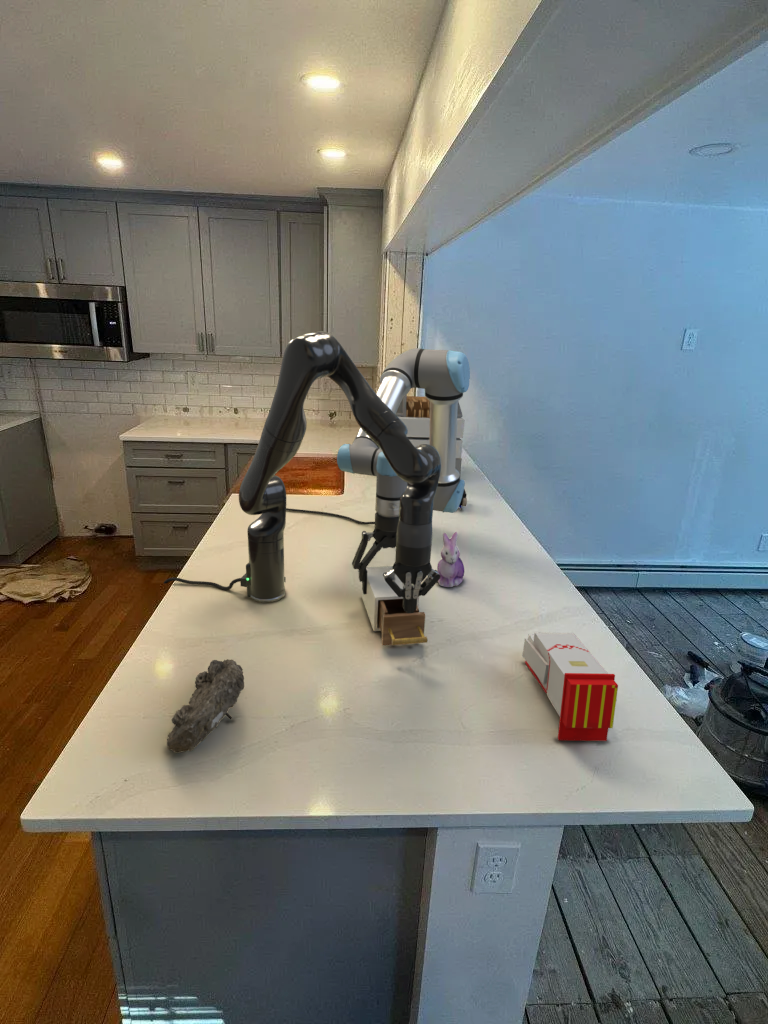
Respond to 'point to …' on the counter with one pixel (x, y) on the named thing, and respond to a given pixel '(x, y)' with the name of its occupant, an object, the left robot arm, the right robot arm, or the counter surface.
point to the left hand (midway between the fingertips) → (409, 611)
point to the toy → (573, 684)
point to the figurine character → (463, 500)
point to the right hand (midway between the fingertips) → (386, 590)
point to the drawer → (400, 623)
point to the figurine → (450, 563)
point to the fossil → (206, 705)
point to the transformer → (425, 423)
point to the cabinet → (378, 592)
